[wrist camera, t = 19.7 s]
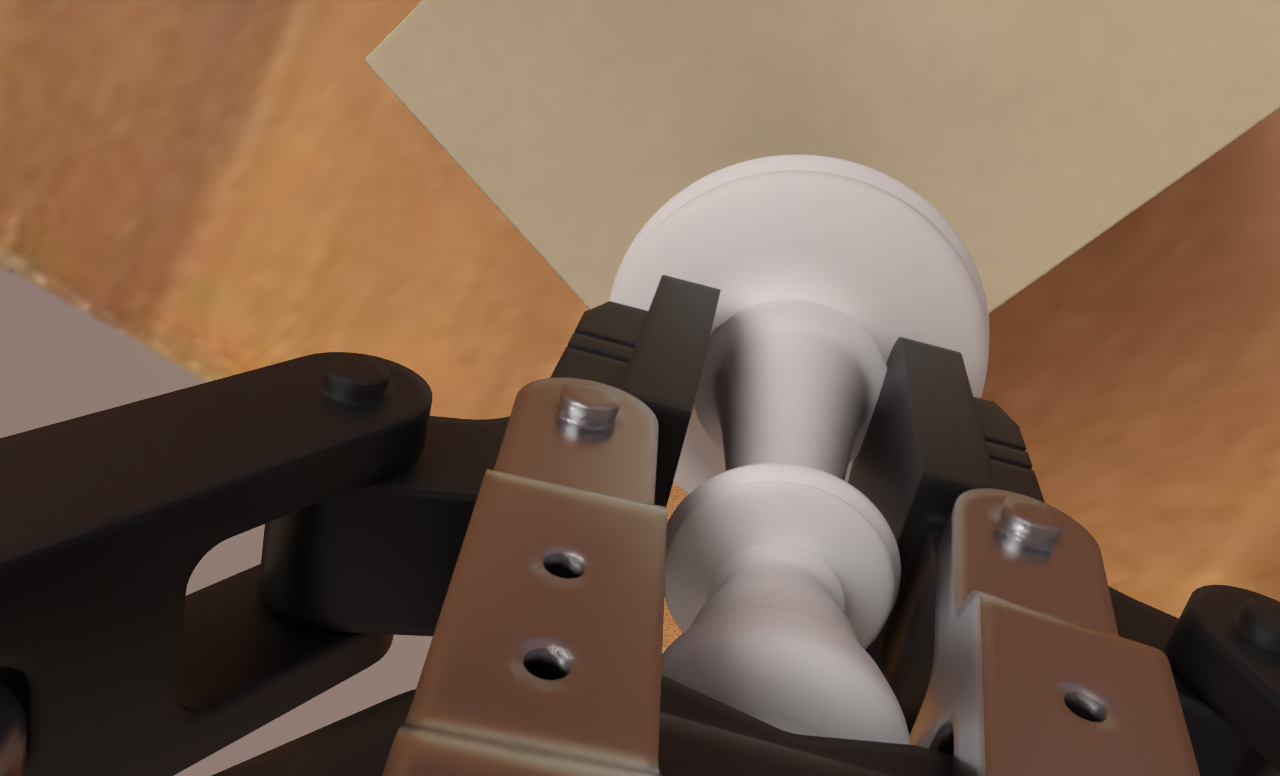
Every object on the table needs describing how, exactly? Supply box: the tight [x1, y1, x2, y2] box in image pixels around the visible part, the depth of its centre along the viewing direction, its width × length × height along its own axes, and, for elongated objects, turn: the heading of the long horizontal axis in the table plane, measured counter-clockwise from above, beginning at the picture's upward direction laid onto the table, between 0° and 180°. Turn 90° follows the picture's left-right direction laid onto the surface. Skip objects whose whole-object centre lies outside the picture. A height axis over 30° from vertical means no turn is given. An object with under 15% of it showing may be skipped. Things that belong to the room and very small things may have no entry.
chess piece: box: [609, 155, 990, 745], centre depth 11 cm, size 5×5×10 cm
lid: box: [365, 0, 1280, 313], centre depth 24 cm, size 14×13×1 cm
